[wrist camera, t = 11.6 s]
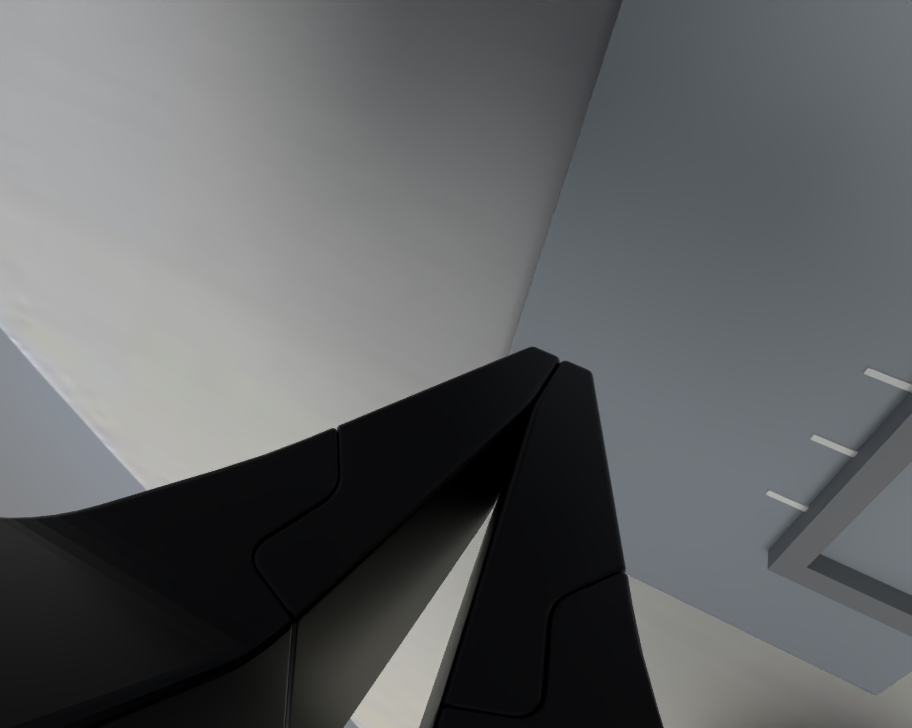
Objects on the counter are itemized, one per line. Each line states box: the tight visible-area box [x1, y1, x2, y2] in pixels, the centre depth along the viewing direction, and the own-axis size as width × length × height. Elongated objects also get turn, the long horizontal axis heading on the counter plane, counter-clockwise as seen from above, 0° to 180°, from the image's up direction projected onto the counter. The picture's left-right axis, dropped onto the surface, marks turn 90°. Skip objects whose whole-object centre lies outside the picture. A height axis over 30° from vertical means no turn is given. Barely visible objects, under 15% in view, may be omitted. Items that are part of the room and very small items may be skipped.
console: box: [493, 0, 912, 696], centre depth 16 cm, size 22×16×6 cm
